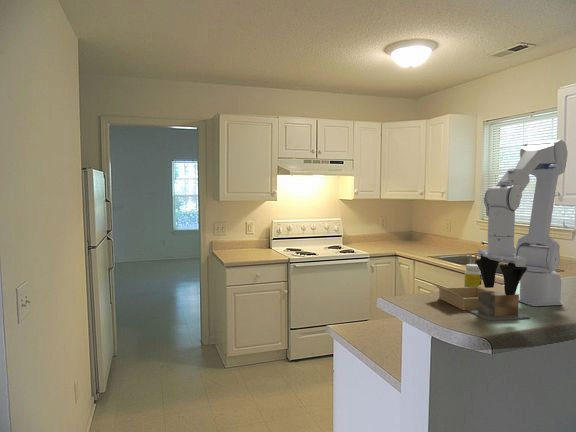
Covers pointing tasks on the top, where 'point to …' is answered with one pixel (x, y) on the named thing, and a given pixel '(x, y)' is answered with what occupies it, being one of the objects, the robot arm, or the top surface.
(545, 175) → the robot arm
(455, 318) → the top surface
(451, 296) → the carton
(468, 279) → the supplement bottle
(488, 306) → the box
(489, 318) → the mat
